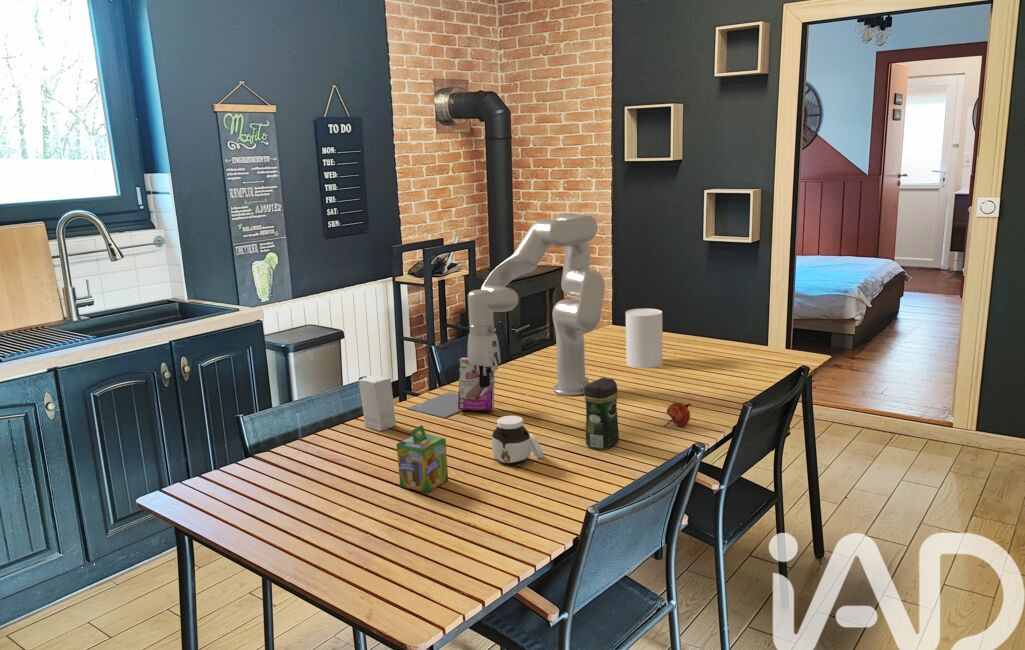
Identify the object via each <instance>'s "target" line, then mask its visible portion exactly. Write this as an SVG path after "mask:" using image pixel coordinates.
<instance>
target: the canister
mask: <svg viewBox="0 0 1025 650" xmlns="http://www.w3.org/2000/svg"><path fill="white" fill-rule="evenodd" d="M625 347H626V349H625V351H626V352H625V353H626V354H625V357H626V365H627V366H628V365H629V366H628V367H630V366H631V367H630V368H634V367H635V368H636V369H654V368H659V367H660V366H662V365H663V311H662V310H660V309H656V308H649V307H648V308H633V309H628V310H626V311H625ZM635 368H634V369H635Z"/></svg>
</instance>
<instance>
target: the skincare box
mask: <svg viewBox="0 0 1025 650" xmlns="http://www.w3.org/2000/svg"><path fill="white" fill-rule="evenodd" d="M358 382H359V391H360V398H361V404H362V405H361V406H362V413H363V421H364V427H365V428H368V429H371V428H372V429H371V430H375V431H377V432H383V431H386V430H388V428H389V429H391V428H394V427H396V426H397V420H396V412H395V403H394V402H395V401H394V396H393V387H392V377H388V376H383V375H378V374H373V375H369V376H366V377H363V378H361V379H359V380H358ZM393 426H394V427H393ZM385 429H386V430H385ZM382 430H383V431H382Z"/></svg>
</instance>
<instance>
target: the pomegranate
mask: <svg viewBox="0 0 1025 650" xmlns="http://www.w3.org/2000/svg"><path fill="white" fill-rule="evenodd" d="M689 406H691V403H687V404H683V403H682V402H673V403H671V404H669V406H668V407H667V408H666V414H667V415H668V416H669V417H670V418H671V419H670V420H669V421H668V422H667V423H665V425H664V426H663V427H666V426H668V425H670V423H672V422H673V423H675V424H676V425H677V426H678V427H680V428H682V427H684V426H686V425H687V424H688V423H689V422H690V419H691V412H690V410H689Z"/></svg>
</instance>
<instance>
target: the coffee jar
mask: <svg viewBox="0 0 1025 650" xmlns="http://www.w3.org/2000/svg"><path fill="white" fill-rule="evenodd" d="M583 397H584V401H585V411H586V412H585V422H586V423H585V444H586V446H587V447H589V448H591V449H593V450H607V449H610V448H612V447H613V446H615V445H617V443H619V440H620V435H619V434H620V433H619V432H620V431H619V424H618V423H619V421H618V420H619V419H618V409H617V405H618V404H617V402H618V401H617V400H618V383H617V382H616V381H615V379H613V378H608V377H600V378H599V379H596V380H593V381H591V383H589V384H587V385H585V387H584V394H583Z"/></svg>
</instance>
